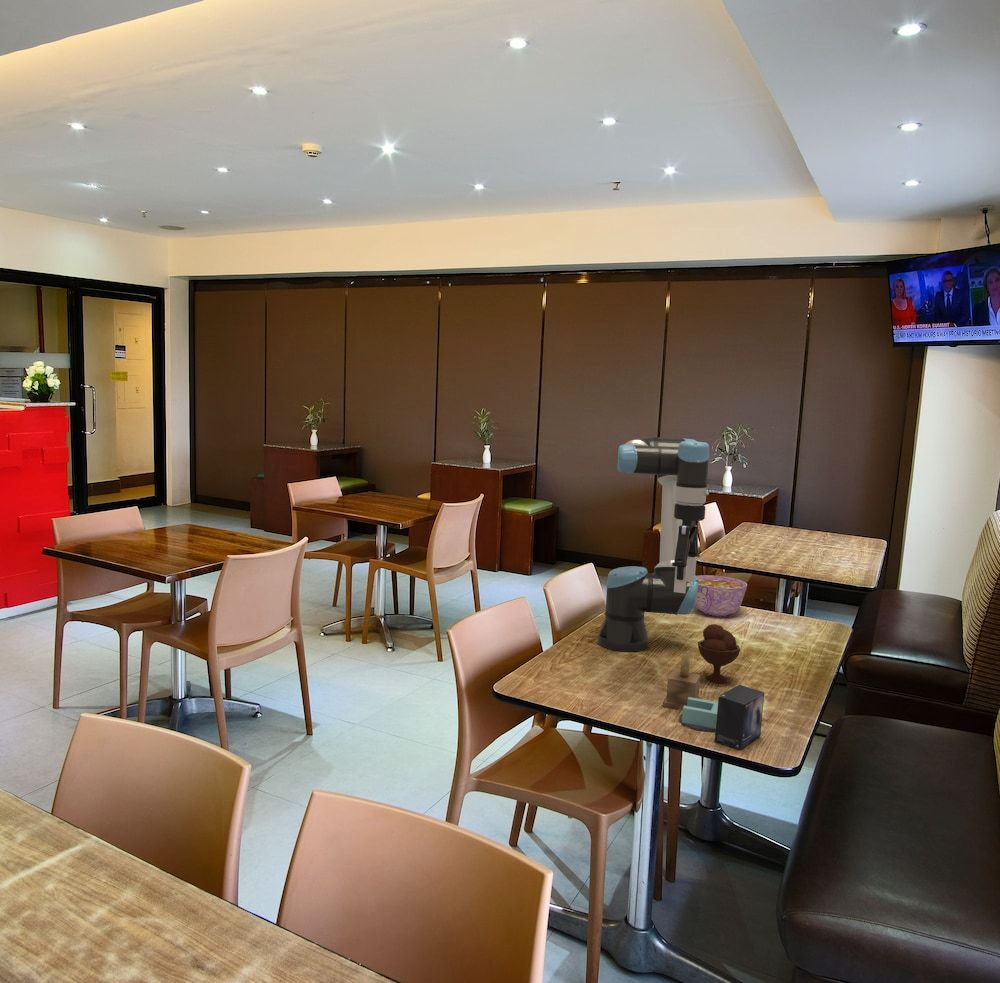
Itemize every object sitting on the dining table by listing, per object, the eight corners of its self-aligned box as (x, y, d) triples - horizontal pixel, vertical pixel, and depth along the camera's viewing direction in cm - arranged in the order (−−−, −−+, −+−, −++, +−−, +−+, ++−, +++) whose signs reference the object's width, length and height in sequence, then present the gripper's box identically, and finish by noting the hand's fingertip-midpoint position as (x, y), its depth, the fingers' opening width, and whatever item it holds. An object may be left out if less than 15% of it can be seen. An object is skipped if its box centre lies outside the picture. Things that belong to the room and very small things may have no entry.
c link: (681, 722, 179) (682, 707, 178) (687, 711, 186) (688, 696, 185) (715, 729, 176) (716, 714, 176) (720, 717, 183) (721, 702, 182)
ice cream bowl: (715, 689, 202) (719, 633, 201) (686, 675, 212) (690, 621, 210) (746, 684, 207) (750, 628, 206) (716, 670, 217) (720, 617, 215)
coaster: (675, 725, 178) (675, 723, 178) (683, 710, 187) (683, 708, 187) (720, 734, 174) (721, 732, 174) (726, 718, 184) (726, 716, 184)
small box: (741, 751, 166) (745, 703, 165) (713, 741, 171) (716, 695, 170) (762, 737, 174) (766, 691, 173) (734, 728, 179) (738, 683, 177)
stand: (662, 706, 189) (665, 656, 188) (669, 695, 197) (672, 647, 195) (696, 713, 186) (699, 662, 185) (701, 701, 194) (705, 652, 192)
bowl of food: (688, 618, 269) (690, 585, 268) (684, 604, 289) (686, 573, 288) (748, 623, 266) (751, 590, 265) (740, 608, 286) (743, 577, 284)
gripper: (697, 510, 183) (691, 599, 186) (712, 499, 206) (707, 579, 209) (665, 507, 186) (659, 595, 189) (684, 497, 209) (678, 575, 212)
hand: (684, 587), depth 199 cm, fingers open, 13 cm apart
